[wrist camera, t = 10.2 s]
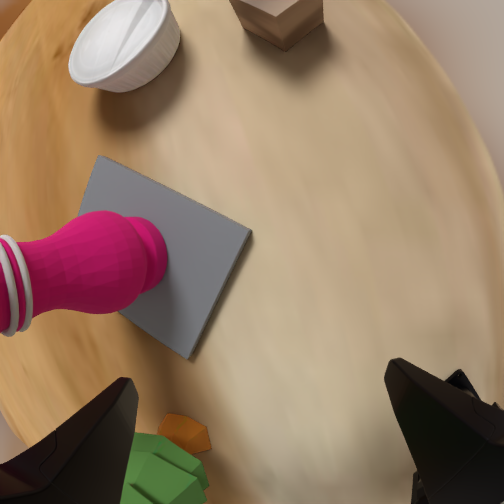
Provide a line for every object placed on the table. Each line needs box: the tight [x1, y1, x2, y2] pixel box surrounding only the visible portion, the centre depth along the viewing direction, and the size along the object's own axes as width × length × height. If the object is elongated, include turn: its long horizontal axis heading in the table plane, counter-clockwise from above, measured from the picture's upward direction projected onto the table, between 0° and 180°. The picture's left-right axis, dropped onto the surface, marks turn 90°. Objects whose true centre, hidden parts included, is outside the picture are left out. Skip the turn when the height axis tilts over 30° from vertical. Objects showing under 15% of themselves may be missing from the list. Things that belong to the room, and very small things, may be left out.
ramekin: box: [69, 0, 180, 93], centre depth 19 cm, size 11×11×5 cm
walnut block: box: [229, 0, 324, 52], centre depth 15 cm, size 5×5×5 cm
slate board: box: [78, 155, 252, 359], centre depth 22 cm, size 16×12×1 cm
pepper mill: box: [0, 210, 167, 337], centre depth 12 cm, size 7×7×20 cm
